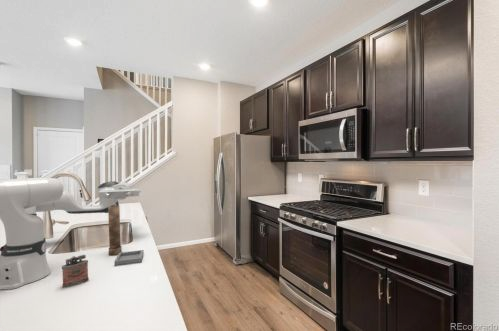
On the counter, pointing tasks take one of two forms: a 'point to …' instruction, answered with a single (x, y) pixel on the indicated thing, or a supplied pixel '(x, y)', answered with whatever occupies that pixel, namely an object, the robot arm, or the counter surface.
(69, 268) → the lighter
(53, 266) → the counter surface
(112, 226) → the pepper mill
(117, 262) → the tray
